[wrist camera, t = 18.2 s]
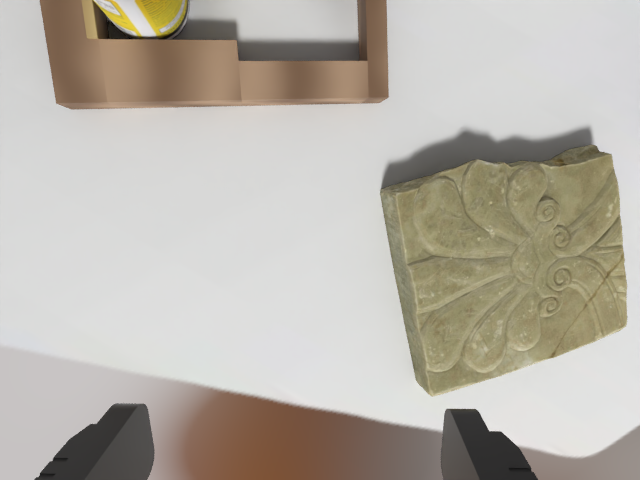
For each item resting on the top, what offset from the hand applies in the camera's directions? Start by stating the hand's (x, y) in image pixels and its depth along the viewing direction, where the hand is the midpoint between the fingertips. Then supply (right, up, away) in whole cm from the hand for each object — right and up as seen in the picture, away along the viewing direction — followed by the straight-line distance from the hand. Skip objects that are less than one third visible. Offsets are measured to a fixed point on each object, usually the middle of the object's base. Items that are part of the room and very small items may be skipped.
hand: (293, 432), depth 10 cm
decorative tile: (+17, +4, +24) cm, 29 cm away
